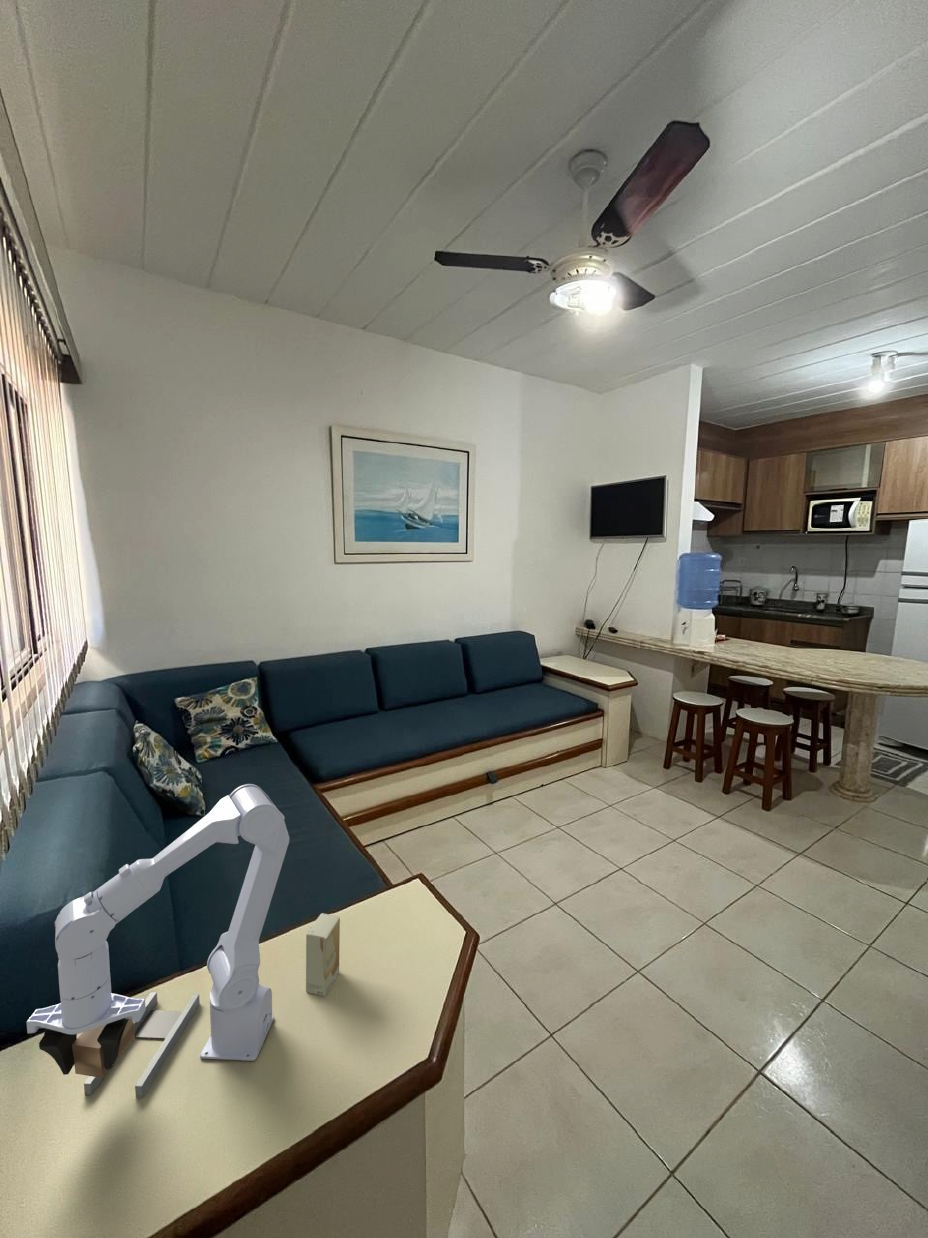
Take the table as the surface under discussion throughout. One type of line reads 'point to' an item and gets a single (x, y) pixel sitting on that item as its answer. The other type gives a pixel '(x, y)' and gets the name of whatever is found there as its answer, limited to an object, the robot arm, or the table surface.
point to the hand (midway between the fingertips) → (91, 1065)
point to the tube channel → (155, 1027)
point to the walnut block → (97, 1050)
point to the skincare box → (322, 954)
